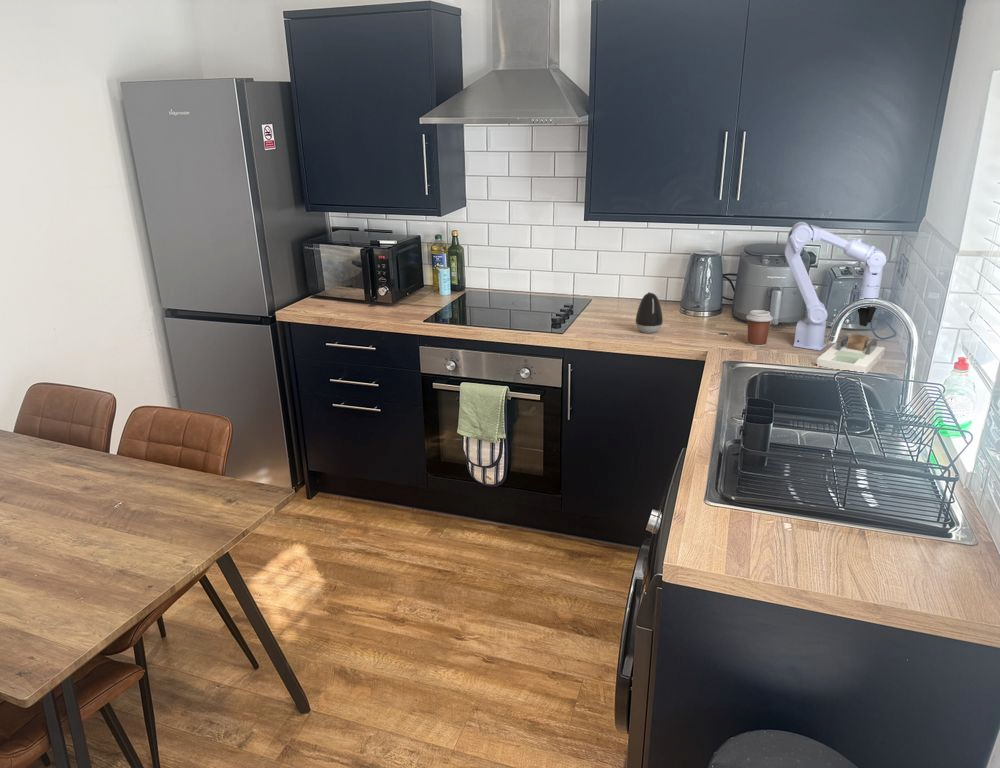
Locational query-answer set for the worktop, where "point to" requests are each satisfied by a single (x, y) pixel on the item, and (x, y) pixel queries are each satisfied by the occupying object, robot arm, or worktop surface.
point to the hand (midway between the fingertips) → (865, 323)
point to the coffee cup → (758, 327)
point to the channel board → (850, 358)
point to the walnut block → (857, 342)
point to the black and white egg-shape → (649, 314)
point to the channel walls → (844, 341)
